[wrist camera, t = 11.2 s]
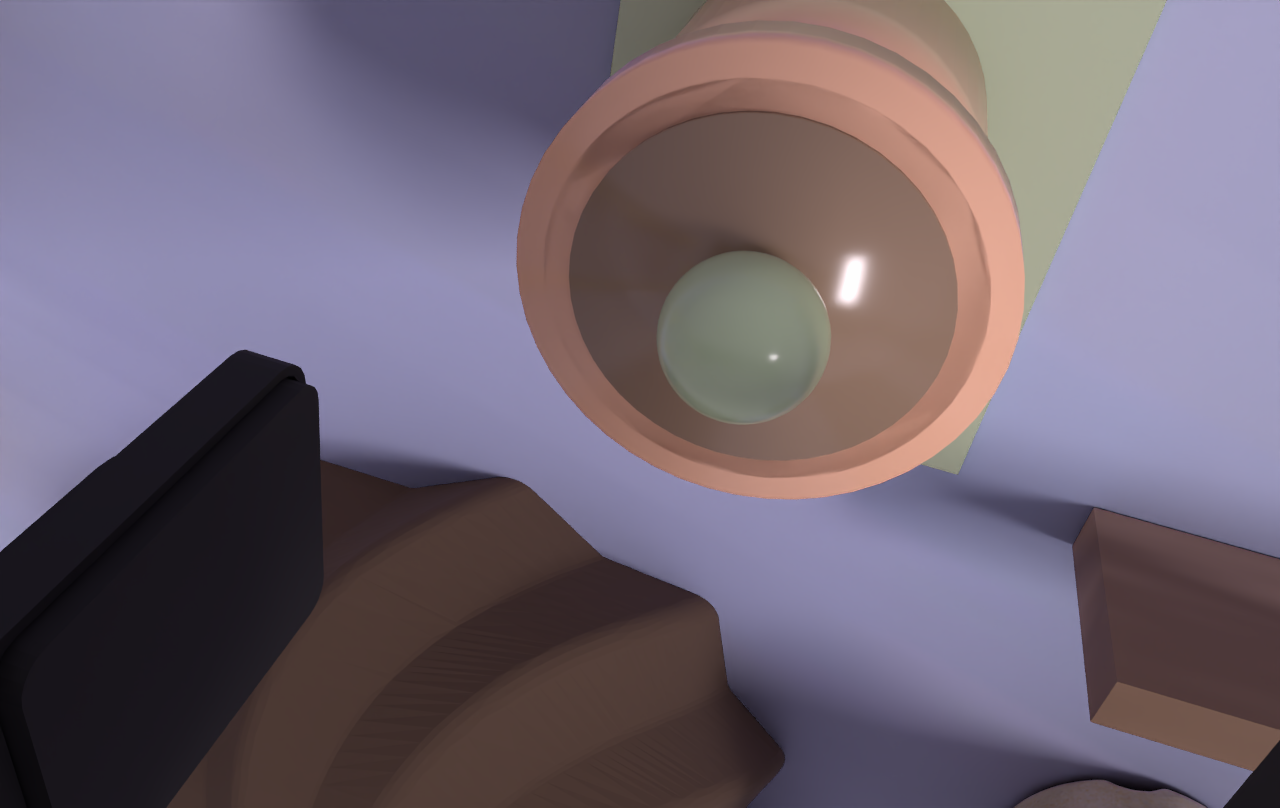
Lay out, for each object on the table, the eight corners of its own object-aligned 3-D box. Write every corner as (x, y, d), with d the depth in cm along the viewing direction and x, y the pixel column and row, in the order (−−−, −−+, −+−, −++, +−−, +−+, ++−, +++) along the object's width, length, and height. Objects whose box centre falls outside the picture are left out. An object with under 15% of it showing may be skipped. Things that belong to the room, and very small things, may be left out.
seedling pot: (940, 320, 22) (921, 655, 14) (618, 235, 22) (446, 512, 15) (1072, -26, 17) (1139, 196, 10) (673, -116, 18) (474, 34, 11)
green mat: (957, 469, 24) (957, 474, 24) (573, 361, 25) (569, 366, 25) (1279, -265, 15) (1283, -263, 15) (676, -382, 16) (673, -381, 16)
